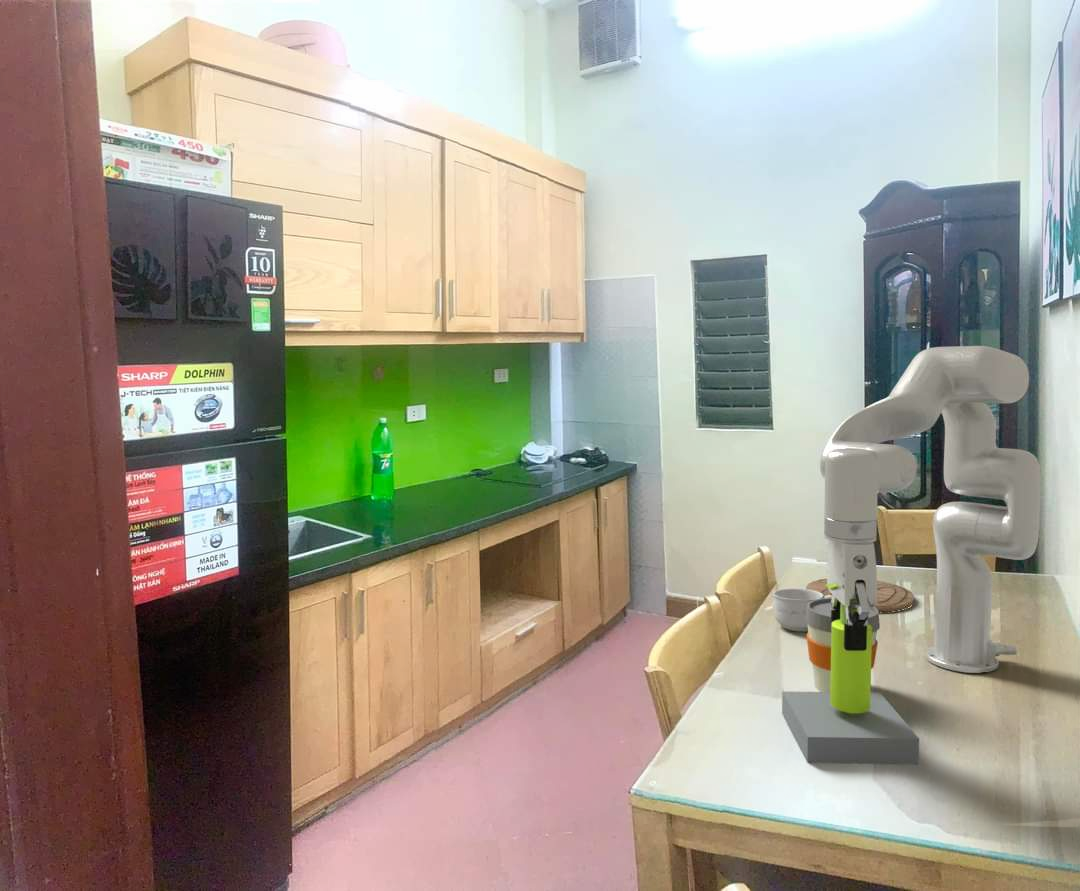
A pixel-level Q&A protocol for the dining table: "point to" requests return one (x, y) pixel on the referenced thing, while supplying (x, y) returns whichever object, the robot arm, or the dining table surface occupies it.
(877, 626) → the reusable coffee cup
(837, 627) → the soap dispenser
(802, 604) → the teacup
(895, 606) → the trivet
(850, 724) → the stand
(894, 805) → the dining table surface
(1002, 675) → the dining table surface
